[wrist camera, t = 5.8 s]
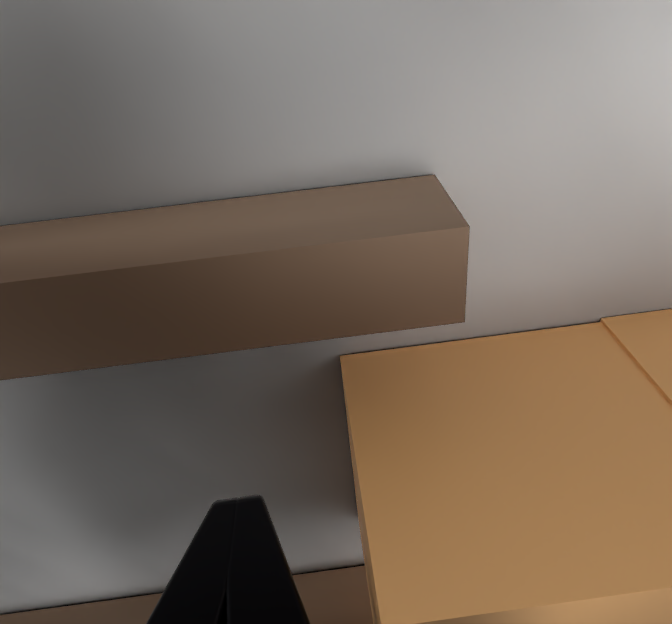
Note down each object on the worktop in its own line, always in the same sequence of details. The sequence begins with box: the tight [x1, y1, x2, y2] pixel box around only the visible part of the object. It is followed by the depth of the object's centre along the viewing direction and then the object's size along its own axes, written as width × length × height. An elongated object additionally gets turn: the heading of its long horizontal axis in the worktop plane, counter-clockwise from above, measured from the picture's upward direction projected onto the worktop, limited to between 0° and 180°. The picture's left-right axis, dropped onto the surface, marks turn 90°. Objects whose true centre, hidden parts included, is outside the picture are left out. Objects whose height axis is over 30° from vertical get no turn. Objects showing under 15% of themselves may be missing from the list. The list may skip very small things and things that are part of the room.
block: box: [340, 322, 672, 624], centre depth 8 cm, size 4×4×4 cm
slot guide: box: [0, 175, 469, 624], centre depth 9 cm, size 9×14×2 cm
